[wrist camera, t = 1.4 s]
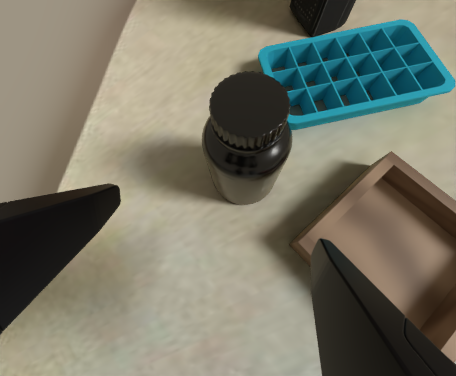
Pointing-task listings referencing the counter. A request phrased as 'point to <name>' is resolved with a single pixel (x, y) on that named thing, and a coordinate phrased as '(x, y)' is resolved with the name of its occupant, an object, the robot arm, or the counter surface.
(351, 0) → the portable radio
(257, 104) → the supplement bottle
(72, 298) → the counter surface
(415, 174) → the holder
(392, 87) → the ice cube tray
